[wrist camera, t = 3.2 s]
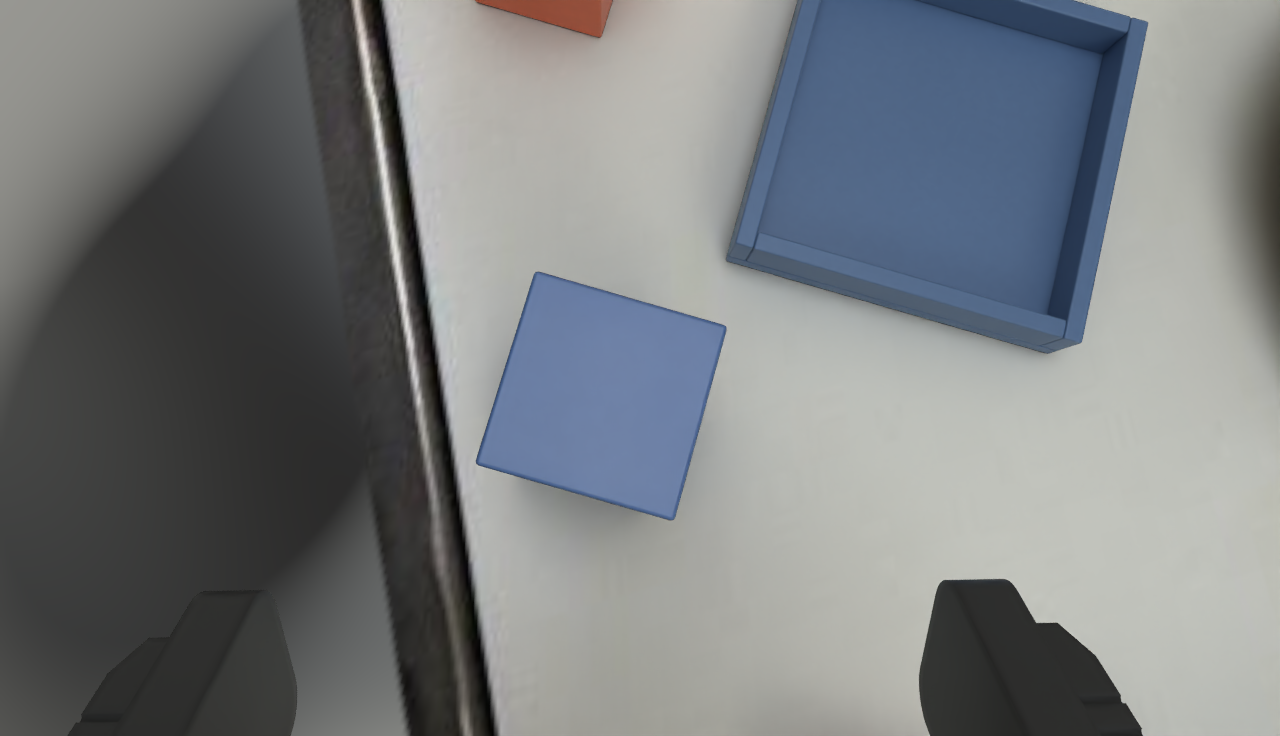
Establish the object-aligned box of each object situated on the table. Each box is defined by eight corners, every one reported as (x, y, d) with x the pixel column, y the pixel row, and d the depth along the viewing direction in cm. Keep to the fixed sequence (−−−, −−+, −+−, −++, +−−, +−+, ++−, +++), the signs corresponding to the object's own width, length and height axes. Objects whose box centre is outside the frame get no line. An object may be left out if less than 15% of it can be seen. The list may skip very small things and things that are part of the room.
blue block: (514, 474, 28) (474, 463, 19) (555, 340, 28) (534, 269, 20) (650, 513, 28) (674, 521, 19) (687, 378, 29) (728, 325, 20)
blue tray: (725, 260, 29) (734, 242, 27) (807, -36, 31) (822, -74, 29) (1048, 354, 29) (1082, 343, 27) (1112, 53, 31) (1149, 21, 29)
